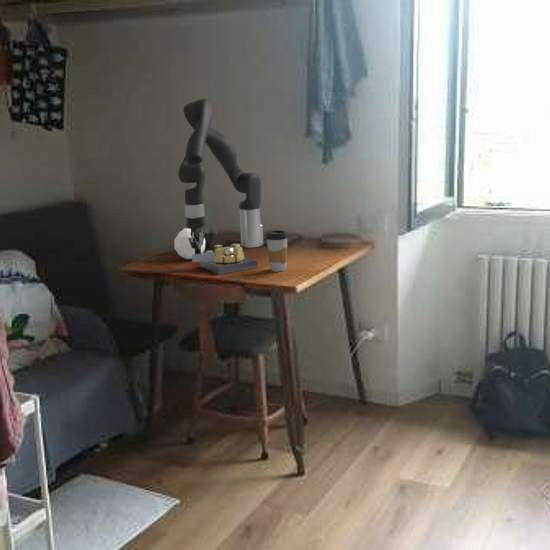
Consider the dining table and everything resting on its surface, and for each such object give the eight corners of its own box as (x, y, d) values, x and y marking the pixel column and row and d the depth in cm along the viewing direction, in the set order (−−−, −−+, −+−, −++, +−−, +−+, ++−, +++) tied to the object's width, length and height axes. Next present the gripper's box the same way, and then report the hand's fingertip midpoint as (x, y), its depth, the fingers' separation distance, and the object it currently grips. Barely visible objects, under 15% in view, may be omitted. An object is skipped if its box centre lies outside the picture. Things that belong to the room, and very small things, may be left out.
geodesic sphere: (162, 245, 312) (172, 222, 304) (187, 240, 322) (197, 217, 313) (180, 268, 306) (190, 245, 298) (205, 262, 316) (216, 240, 307)
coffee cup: (276, 266, 289) (275, 229, 286) (293, 268, 284) (291, 231, 281) (263, 270, 283) (261, 233, 280) (279, 273, 278) (278, 234, 274)
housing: (237, 260, 303) (236, 241, 301) (257, 267, 289) (256, 248, 287) (200, 266, 295) (199, 247, 293) (219, 274, 280) (218, 254, 279)
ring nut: (242, 255, 298) (241, 242, 297) (245, 261, 286) (245, 248, 285) (191, 258, 295) (190, 246, 294) (193, 265, 283) (192, 252, 282)
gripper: (191, 212, 294) (194, 253, 299) (180, 218, 282) (183, 261, 287) (209, 212, 293) (212, 253, 297) (198, 218, 280) (202, 261, 285)
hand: (198, 257), depth 292 cm, fingers closed
